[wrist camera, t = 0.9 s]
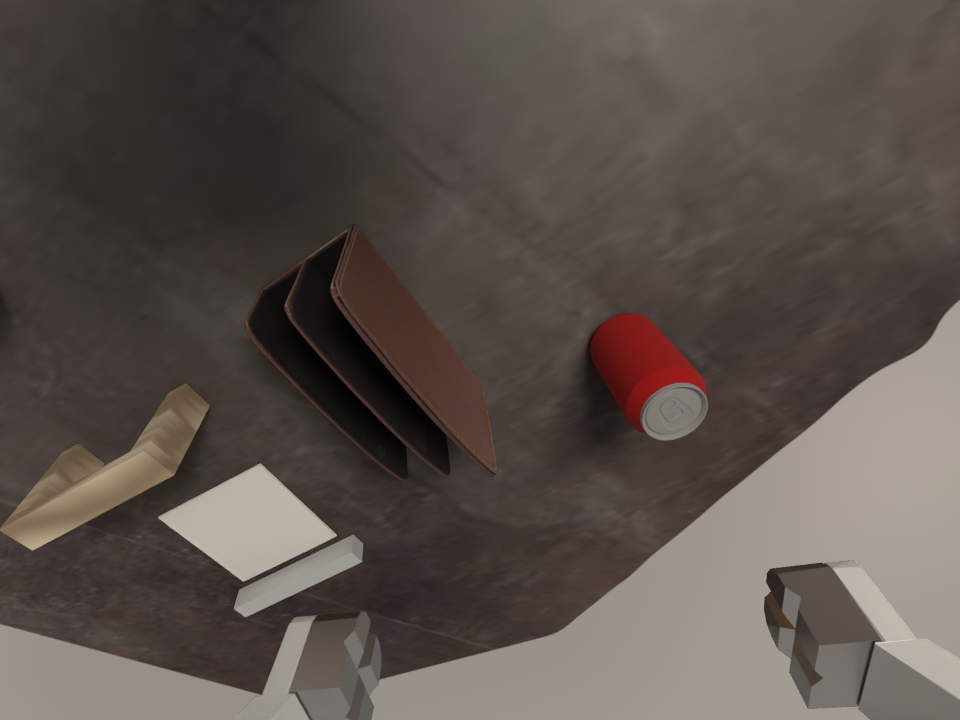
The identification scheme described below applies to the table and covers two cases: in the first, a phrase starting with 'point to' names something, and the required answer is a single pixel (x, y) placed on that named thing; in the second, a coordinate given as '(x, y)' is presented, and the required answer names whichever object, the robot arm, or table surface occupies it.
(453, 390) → the letter holder
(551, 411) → the table surface
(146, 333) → the table surface
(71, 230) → the table surface
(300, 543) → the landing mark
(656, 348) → the beverage can
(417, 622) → the table surface
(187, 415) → the bridge
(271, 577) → the stopper
